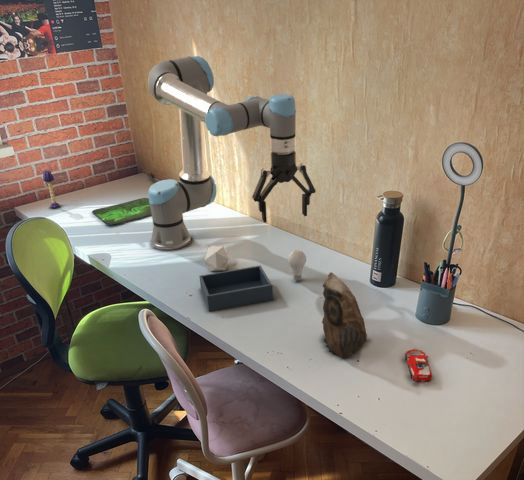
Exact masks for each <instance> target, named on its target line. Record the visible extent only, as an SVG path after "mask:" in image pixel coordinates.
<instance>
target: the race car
mask: <svg viewBox="0 0 524 480" xmlns="http://www.w3.org/2000/svg"><path fill="white" fill-rule="evenodd" d="M404 353H405V354H404V360H405V362H406V365H407V369H408V372H409V375H410V379H411V380H412V382H414V383H417V384H419V383H421V384H424V383H425V384H426V383H427V384H428V383H431V381H432V379H433V378H432V377H433V374H432V373H433V372H432V369H431V367H430V363H429V361H428V358H429V356H428V355H427V354H426V353H425V351H423V350H421V349H417V348H413V349H409V350H408V351H406V352H404ZM426 355H427V356H426Z"/></svg>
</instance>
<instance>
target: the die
mask: <svg viewBox="0 0 524 480" xmlns="http://www.w3.org/2000/svg"><path fill="white" fill-rule="evenodd" d="M229 260H230V256H229V253H228V252H227V250H226V248H225V246H208V248H207V252H206V254H205V258H204V262H205V264H206V266H207V268H208V269H209V271H210V272H224V271H227V266H228V265H229V264H228V263H229Z"/></svg>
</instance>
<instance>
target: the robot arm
mask: <svg viewBox="0 0 524 480" xmlns="http://www.w3.org/2000/svg"><path fill="white" fill-rule="evenodd" d="M214 86H215V78H214V73H213V70H212V67H211V66H210V64H209V63H208V61H207V60H206V59H205V58H203V57H202V56H200V55H194V56H190V55H189V56H186V57H185V56H184V57H180V58H176V59H175V58H174V59H169V60H162V61H160V62H158V63H156V64H155V65H154V66H153V67H152V68H151V70H150V71H149V73H148V76H147V87H148V91H149V93H150V94H151V96H152V97H153V99H155V100H156V101H157V102H159V103H161V104H163V105H166V106H171V105H172V106H173V107H175V108H176V109H178V112H179V128H180V144H181V145H180V146H181V160H182V170H181V171H180V172H179V173H178V175H179V181H177V180H176V179H173V178H172V179H171V178H168V179H162V180H159V181H156V180H155V179H154V178H153V177H152V176H153V175H152V172H149V179H150V180H151V181H152V182H153V184H152V185H151V186H150V187H149V189H148V191H147V194H148V195H147V196H148V199H149V203H150V208H151V214H152V215H151V218H152V225H153V226H152V232H151V239H150V241H151V246H152V247H153V248H154V249H156V250H159V251H175V250H180V249H183V248H184V247H186V246H188V245H189V244H190V243H191V241H192V239H191V234H190V232H189V230H188V228H187V226H186V224H185V221H184V215H183V214H185V213H188V212H191V211H194V210H198V209H200V208H205V207H207V206H209V205H211V204H212V203H214V201H215V199H216V197H217V192H218V191H217V190H218V189H217V184H216V180H215V178H214V177H213V176H212V175H211V173H210V172H209V170H207V169H206V145H205V144H206V143H205V142H206V141H205V127H206V129H207V131H209V134H210V135H211V136H213V137H221V136H228V135H230V134H234V133H238V132H241V131H246V130H249V129H254V128H257V127H264V128H268V129H269V136H270V151H271V152H270V169H266V168H263V167H262V168H261V170H260V177H259V179H258V182H257V184H256V187H255V189H254V191H253V193H252V196H251V198H252V200H253V201H254V202H255V203H256V202H257V205H258V206H257V207H258V211H259V213H261V220H262V221H263V223H267V202H266V201H265V200H266V198H268V196H269V194H270V193H271V192H272V190H273V189H274V187H275V186H277V184H278V183H279V184H283V183H289V182H292V181H293V182H294V183H295V185H297V187H298V188H299V189H300V190H301V191H302V192H303V193H301V213H302V215H303V216H304V217H308V206H310V204H311V196H312V194H316V192H317V190H316V188H315V186H314V185H313V183H312V181H311V179H310V176H309V174H308V172H307V166H306V165H305V164H304V163H302V162H301V163H300V164H298V165H297V162H296V161H297V152H296V151H295V150H296V149H297V148H296V147H297V146H296V144H297V143H296V139H297V138H296V119H297V118H296V115H297V109H296V99H295V97H294V96H293V95H292V94H284V93H279V94H274V95H271V96H270V97H269V99H267V98H263V97H260V96H248V97H246V98H245V100H243V101H241V102H238V103H237V102H236V103H232V104H226V103H224V102H222V101H220V100H219V99H216V98H214V97H213V96H210V95H209V94H208V93H210V92H211V91H212V90H213V88H214ZM297 172H299V173H300V174H301V176H302V178H303V180H304V182H305V183H306V186H307V187H308V189H307V188H306V187H305V186H304V184H303V183H301V181H300V180H299V179H298V177H296V176H295V175H296V173H297ZM270 175H271V178H270V179H269V181H268V183H267V184H266V182H267V178H268V177H269V176H270ZM265 184H266V186H265Z"/></svg>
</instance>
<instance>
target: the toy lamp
mask: <svg viewBox="0 0 524 480" xmlns="http://www.w3.org/2000/svg"><path fill="white" fill-rule="evenodd" d="M42 180H43V182H45V183H47V186H48V190H49V194H50V199H51V203H50V209H52V210H54V209H59V208H60V207H61V205H60V204H59V203H58V202H57V201H56V197H55V191H54V188H53V184H52V182H53V181H54V180H55V177H54V175H53V173H52V172H51V170H49V169H48V170H47V169H46V170H44V171H43V175H42Z"/></svg>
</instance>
